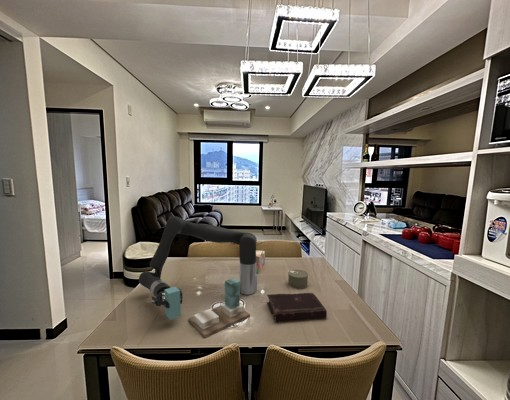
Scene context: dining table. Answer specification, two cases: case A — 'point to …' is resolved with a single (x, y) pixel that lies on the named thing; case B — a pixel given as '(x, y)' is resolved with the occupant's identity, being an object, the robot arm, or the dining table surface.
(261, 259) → the stack of blocks
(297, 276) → the can
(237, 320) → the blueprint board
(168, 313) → the teal pillar
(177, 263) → the dining table surface
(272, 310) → the diary
